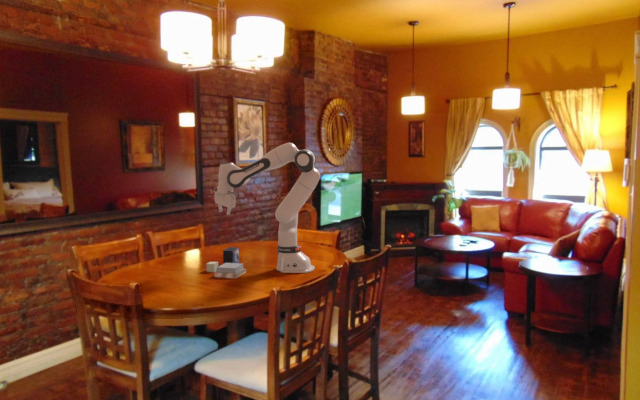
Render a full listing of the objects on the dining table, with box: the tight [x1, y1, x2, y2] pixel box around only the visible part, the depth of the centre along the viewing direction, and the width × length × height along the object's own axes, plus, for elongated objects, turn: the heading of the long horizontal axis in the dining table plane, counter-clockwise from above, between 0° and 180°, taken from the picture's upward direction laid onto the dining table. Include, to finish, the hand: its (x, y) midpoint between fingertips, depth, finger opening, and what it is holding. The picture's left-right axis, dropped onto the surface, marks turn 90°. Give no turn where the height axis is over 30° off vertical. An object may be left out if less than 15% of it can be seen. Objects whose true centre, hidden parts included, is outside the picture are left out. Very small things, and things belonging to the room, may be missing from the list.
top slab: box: [216, 262, 244, 274], centre depth 259 cm, size 11×11×3 cm
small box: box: [222, 246, 240, 264], centre depth 279 cm, size 11×6×10 cm, turn 168°
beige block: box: [205, 261, 220, 273], centre depth 267 cm, size 5×5×5 cm
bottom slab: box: [213, 267, 247, 279], centre depth 259 cm, size 13×13×3 cm
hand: (224, 213), depth 269 cm, fingers open, 8 cm apart
